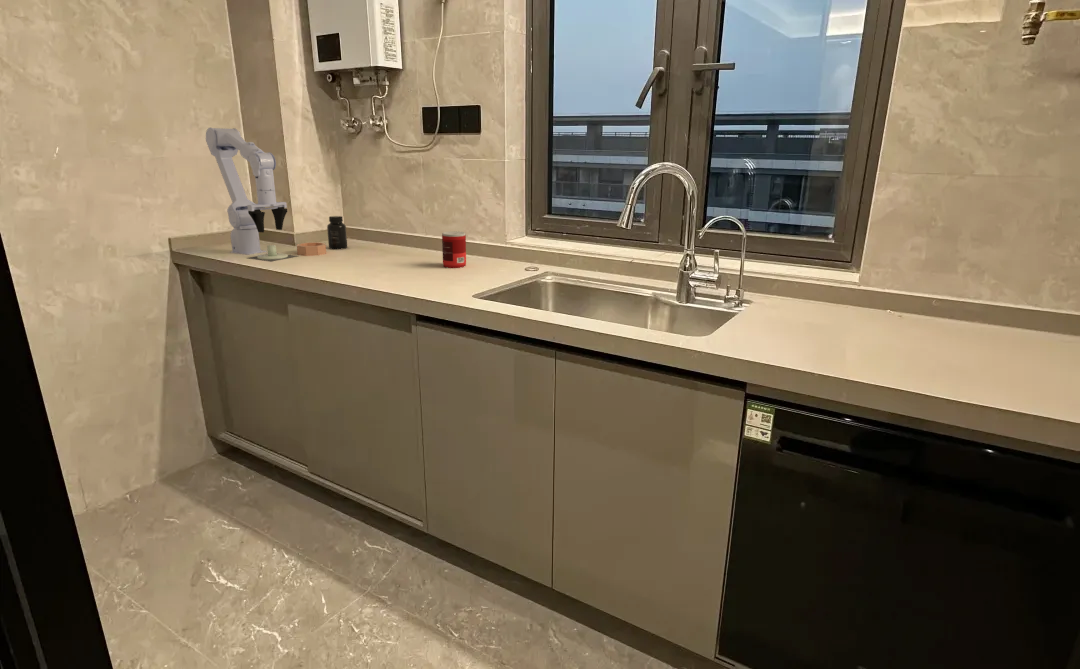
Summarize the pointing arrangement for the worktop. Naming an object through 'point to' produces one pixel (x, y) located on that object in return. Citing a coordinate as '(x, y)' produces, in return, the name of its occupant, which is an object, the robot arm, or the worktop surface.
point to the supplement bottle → (336, 233)
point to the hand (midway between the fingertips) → (270, 230)
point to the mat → (272, 260)
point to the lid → (272, 254)
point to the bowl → (311, 249)
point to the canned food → (454, 249)
